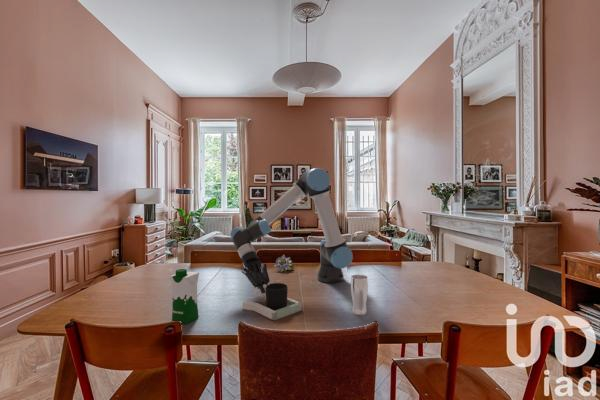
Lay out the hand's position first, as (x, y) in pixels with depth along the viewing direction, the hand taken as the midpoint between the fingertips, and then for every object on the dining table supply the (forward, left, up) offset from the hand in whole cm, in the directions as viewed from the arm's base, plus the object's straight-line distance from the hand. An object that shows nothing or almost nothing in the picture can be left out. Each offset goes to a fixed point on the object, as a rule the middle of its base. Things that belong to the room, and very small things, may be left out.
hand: (269, 298), depth 128 cm
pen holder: (-3, +4, -4) cm, 6 cm away
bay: (-2, +2, -4) cm, 5 cm away
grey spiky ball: (-12, -62, -4) cm, 63 cm away
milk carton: (+33, +8, -4) cm, 34 cm away
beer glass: (-37, +12, -4) cm, 39 cm away
